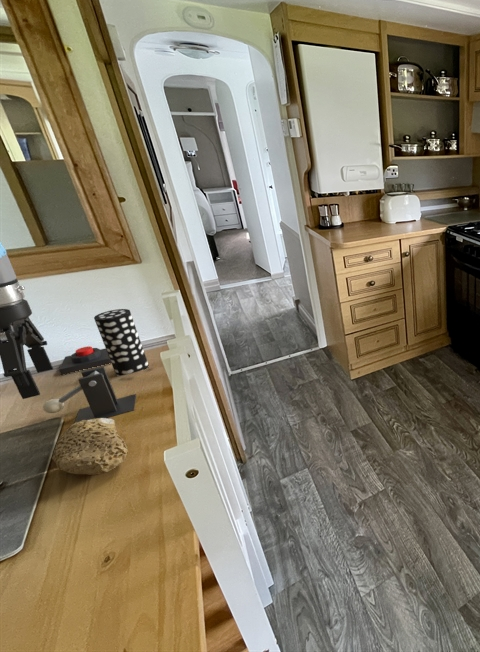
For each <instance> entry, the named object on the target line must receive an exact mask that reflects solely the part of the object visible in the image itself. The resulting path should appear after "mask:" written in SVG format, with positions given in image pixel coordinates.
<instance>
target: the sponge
mask: <svg viewBox="0 0 480 652" xmlns="http://www.w3.org/2000/svg"><path fill="white" fill-rule="evenodd" d="M127 454H128V447H127V444H126V442H125V440H124V438H123V437H122V436H120V435H119V432H118V431H117V425H116V420H115V419H113V418H97V419H90V420H82V421H80V422H76V423H75V422H74V423H73V424H70V425H69V427H68V428H67V429H66V430H65V431H64V432H63V433H62V434H61V435H60V436H59V439H58V440H57V442H56V444H55V447H54V449H53V454H52V456H51V459H52V460H53V462H54V463H55V466H56V468H57V469H60V470H61V471H63V472H64V473H68V474H72V475H88V476H92V475H100V474H105V473H108V472H110V471H112V470H114V469H116V468H117V467H119V466H120V465H121V464H122V463H123V462H124V461H125V459H126V457H127Z"/></svg>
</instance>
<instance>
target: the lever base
mask: <svg viewBox="0 0 480 652" xmlns="http://www.w3.org/2000/svg"><path fill="white" fill-rule="evenodd" d="M94 371H97V372H99V374H95V375H91V376H88V375H90V374H91V373H93V372H94ZM80 374H81V376H82V377H79V378H78V382H79V385H81V387H82V392H83V394H84V396H85V398H86V401H87V403H88V405H89V406H85V407H82V408H79V409H78V411H77V415H76V418H75V421H74V423H76V422H80V421H82V420H90V419H97V418H107V419H110V418H113V417H117V416H121V415H123V414H128V413H131V412H134V411H135V410H136V409H135V408H136V401H137V394H136V393H134V394H130V395H126V396H124V397H119V398H117V396H116V392H115V390H114V388H113V386H112V385H113V384H112V383H111V380H110V378H109V375H108V372H107V370H106V368H105V366H101V367H96V368H92V369H87V370H83V371H80Z"/></svg>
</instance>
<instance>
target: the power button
mask: <svg viewBox="0 0 480 652" xmlns="http://www.w3.org/2000/svg"><path fill="white" fill-rule="evenodd" d="M92 348H93V346H89V345H88V346H82V347H79V348H78V349H76V350H75V351H74V353H75V352H76V354H77V356H85V355H89V354H91V353H93V352H94V351H93V349H92Z"/></svg>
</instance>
